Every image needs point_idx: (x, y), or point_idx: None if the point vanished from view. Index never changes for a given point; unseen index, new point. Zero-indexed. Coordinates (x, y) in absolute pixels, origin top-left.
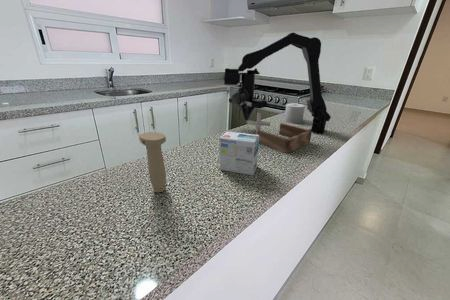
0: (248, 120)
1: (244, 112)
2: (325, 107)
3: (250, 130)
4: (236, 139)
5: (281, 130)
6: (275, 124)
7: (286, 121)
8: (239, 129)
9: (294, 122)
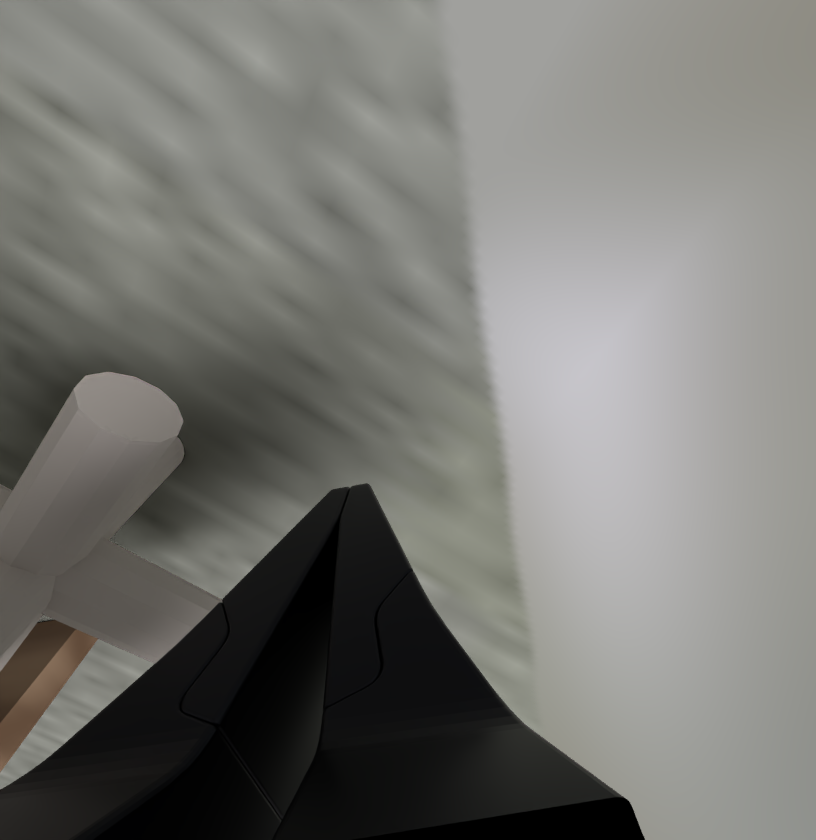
0: (88, 448)
1: (334, 606)
2: None
3: (324, 450)
4: None
5: (23, 665)
6: None
7: None
8: (437, 345)
9: None
